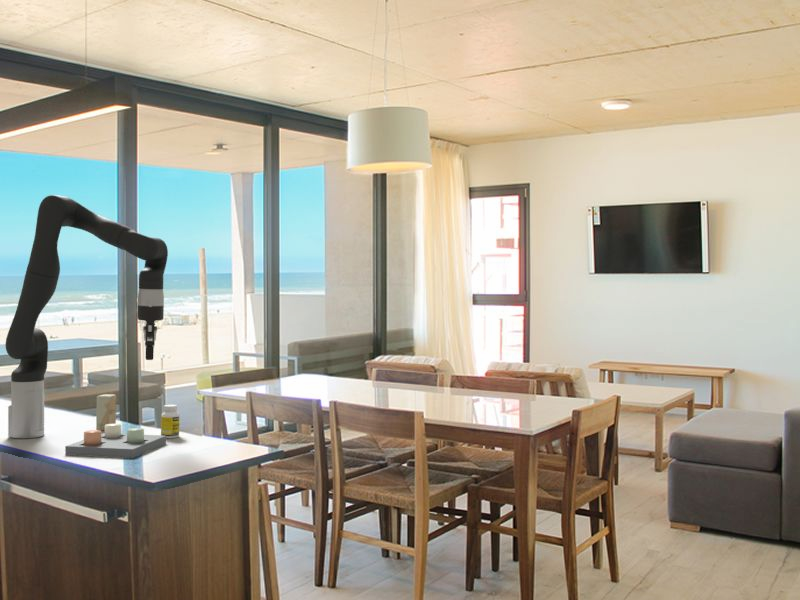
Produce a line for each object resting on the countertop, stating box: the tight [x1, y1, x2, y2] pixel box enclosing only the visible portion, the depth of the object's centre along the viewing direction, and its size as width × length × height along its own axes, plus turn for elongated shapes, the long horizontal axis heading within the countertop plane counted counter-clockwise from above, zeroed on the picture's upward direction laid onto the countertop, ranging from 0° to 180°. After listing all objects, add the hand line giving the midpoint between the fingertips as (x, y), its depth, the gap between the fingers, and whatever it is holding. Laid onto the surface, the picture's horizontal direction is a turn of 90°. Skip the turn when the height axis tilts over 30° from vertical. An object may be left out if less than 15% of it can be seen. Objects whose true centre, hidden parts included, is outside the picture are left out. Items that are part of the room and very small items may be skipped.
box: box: [95, 393, 117, 431], centre depth 261 cm, size 5×4×11 cm
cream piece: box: [104, 423, 122, 439], centre depth 236 cm, size 5×5×4 cm
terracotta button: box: [83, 429, 102, 446], centre depth 226 cm, size 5×5×4 cm
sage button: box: [126, 427, 145, 444], centre depth 229 cm, size 5×5×4 cm
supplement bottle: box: [160, 404, 180, 439], centre depth 249 cm, size 5×5×10 cm
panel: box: [64, 432, 167, 459], centre depth 230 cm, size 20×20×2 cm
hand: (149, 358), depth 241 cm, fingers open, 8 cm apart
